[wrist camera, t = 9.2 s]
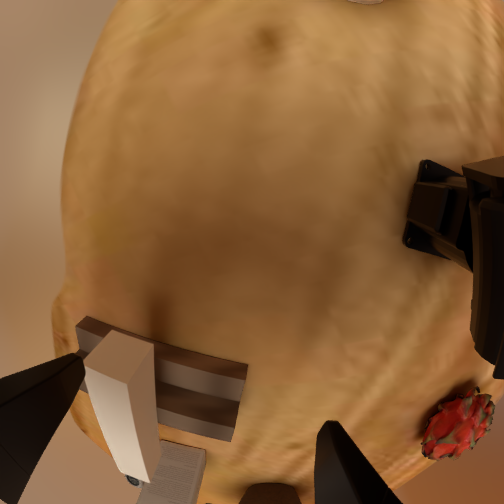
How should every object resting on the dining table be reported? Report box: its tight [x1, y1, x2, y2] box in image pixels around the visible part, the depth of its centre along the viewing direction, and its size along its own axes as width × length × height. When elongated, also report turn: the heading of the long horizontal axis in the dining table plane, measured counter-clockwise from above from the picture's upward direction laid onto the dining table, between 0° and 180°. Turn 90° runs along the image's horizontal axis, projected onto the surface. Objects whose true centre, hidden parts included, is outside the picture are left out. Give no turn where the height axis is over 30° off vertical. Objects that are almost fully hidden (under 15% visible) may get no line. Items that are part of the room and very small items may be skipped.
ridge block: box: [75, 316, 248, 442], centre depth 21 cm, size 16×8×5 cm, turn 79°
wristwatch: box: [125, 474, 145, 488], centre depth 29 cm, size 4×6×5 cm, turn 10°
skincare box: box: [136, 440, 206, 504], centre depth 22 cm, size 6×4×12 cm
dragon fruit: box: [421, 387, 495, 461], centre depth 19 cm, size 8×8×12 cm
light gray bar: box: [83, 330, 161, 483], centre depth 16 cm, size 3×16×4 cm, turn 169°
